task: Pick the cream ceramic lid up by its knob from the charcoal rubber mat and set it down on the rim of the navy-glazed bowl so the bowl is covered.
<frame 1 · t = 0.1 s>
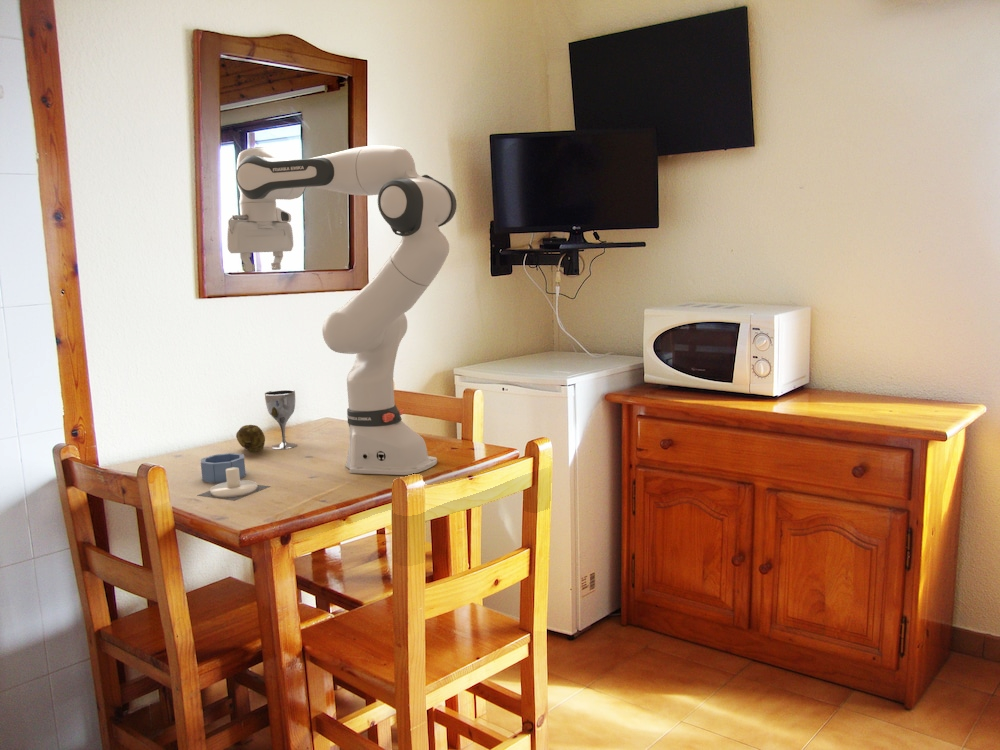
hand: (263, 270, 211), 48 cm above the table, fingers open, 8 cm apart
potato: (252, 452, 223), on the table
lid: (234, 490, 184), resting on mat
mat: (234, 492, 184), on the table
silver goblet: (284, 446, 228), on the table
bowl: (224, 479, 196), on the table
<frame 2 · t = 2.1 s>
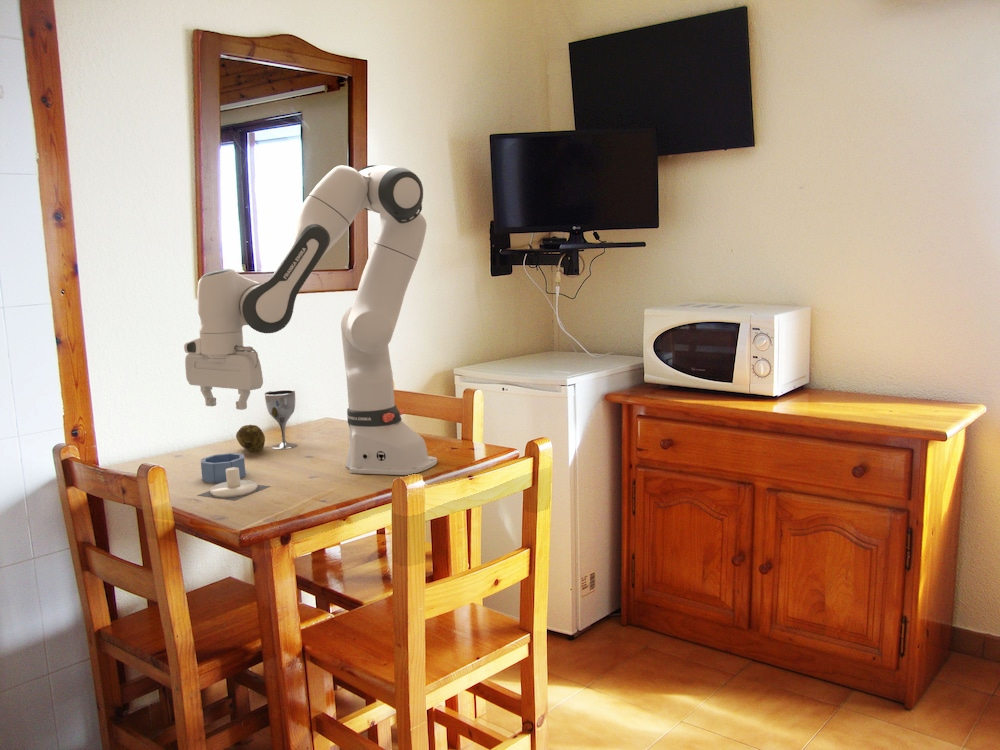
hand: (226, 407, 183), 19 cm above the table, fingers open, 8 cm apart
nothing on the table moved.
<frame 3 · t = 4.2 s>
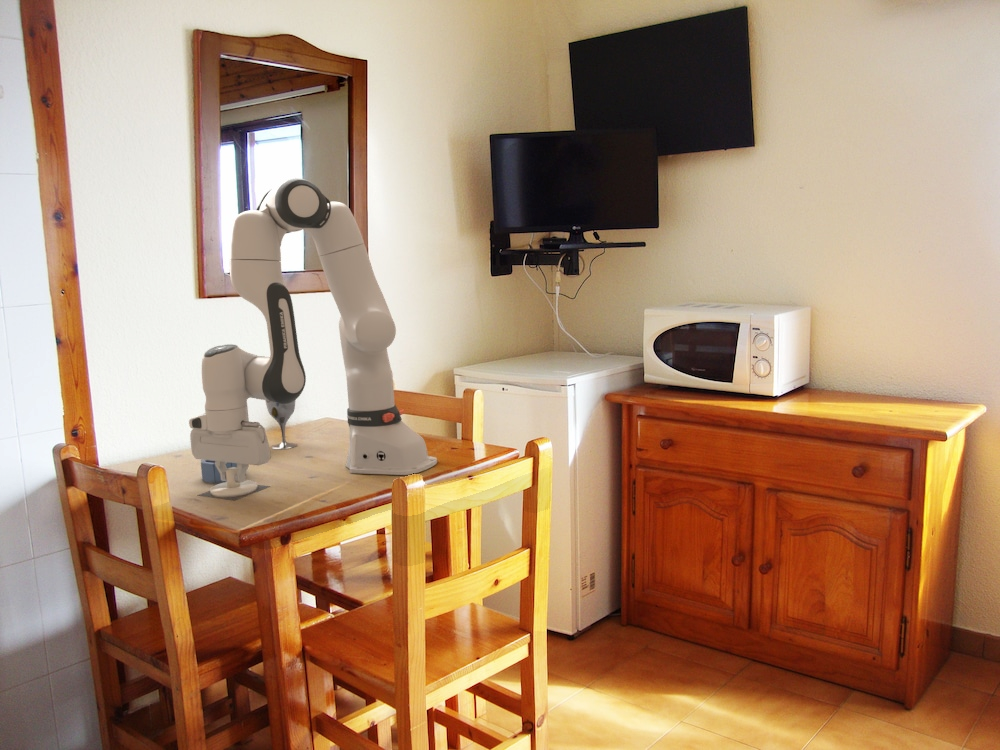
hand: (233, 481, 184), 3 cm above the table, fingers closed on lid, 3 cm apart
lid: (234, 490, 184), resting on mat, touching gripper
everything else where it was.
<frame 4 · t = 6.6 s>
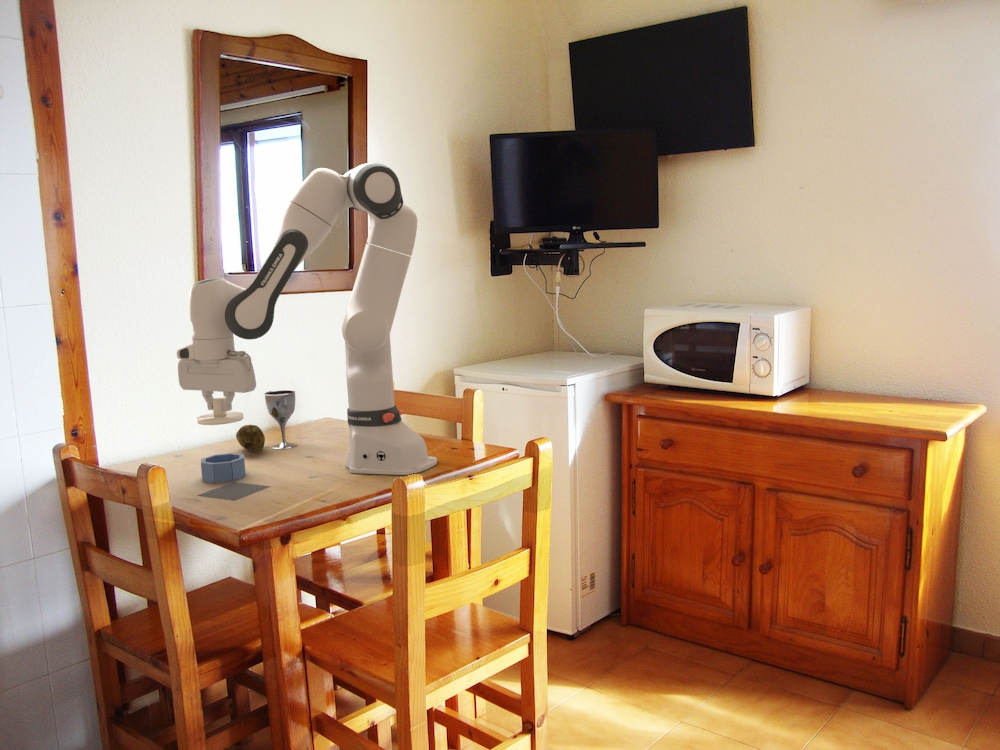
hand: (219, 410, 190), 17 cm above the table, fingers closed on lid, 3 cm apart
lid: (220, 420, 191), point 15 cm above the table, touching gripper
everything else where it was.
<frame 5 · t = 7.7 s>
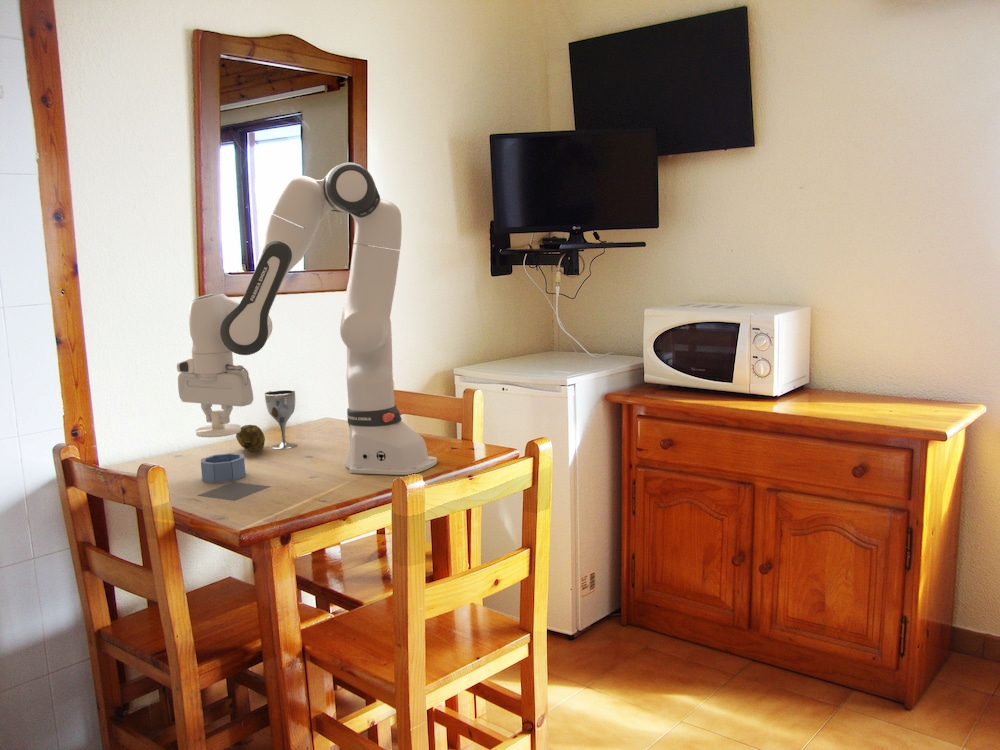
hand: (218, 422, 194), 14 cm above the table, fingers closed on lid, 3 cm apart
lid: (218, 432, 195), point 11 cm above the table, touching gripper
everything else where it was.
when the fingers open (9 cm above the table, at t = 8.7 s): lid drops 1 cm, resting on bowl.
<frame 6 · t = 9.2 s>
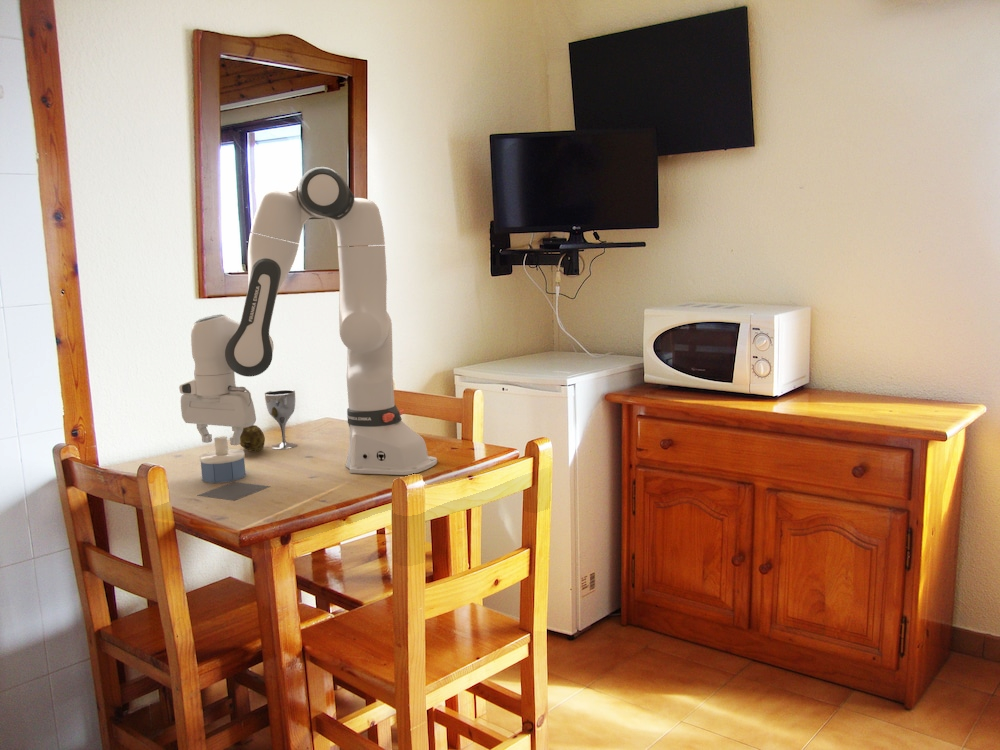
hand: (221, 443, 195), 9 cm above the table, fingers open, 8 cm apart
lid: (222, 458, 196), point 5 cm above the table, touching bowl
everything else where it was.
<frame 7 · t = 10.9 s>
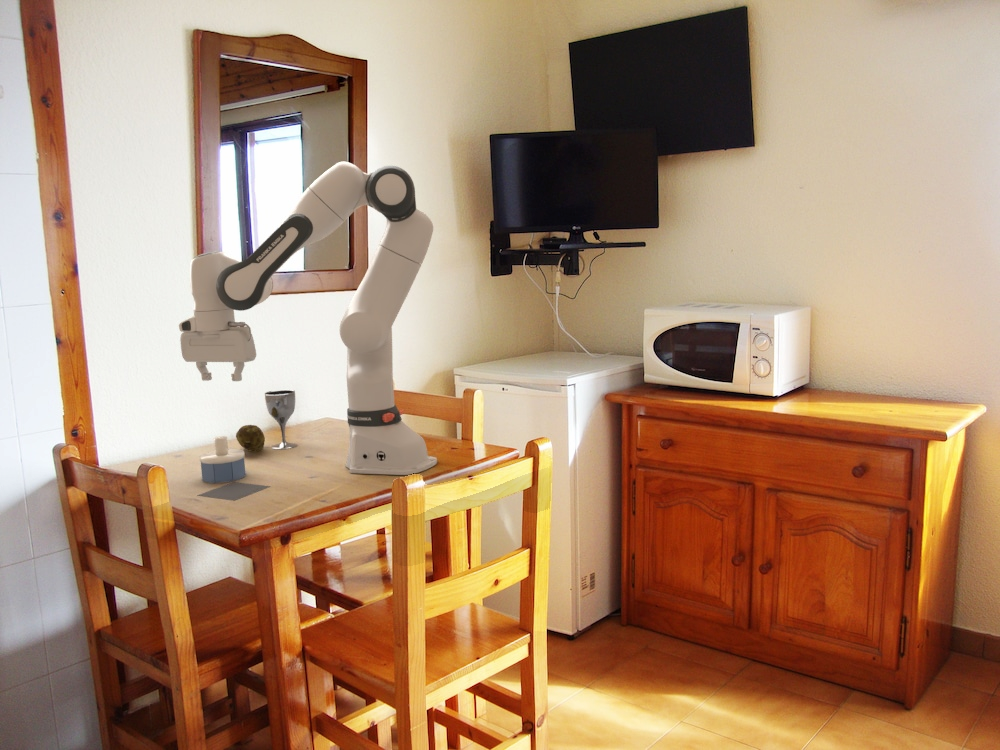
hand: (221, 380, 196), 23 cm above the table, fingers open, 8 cm apart
nothing on the table moved.
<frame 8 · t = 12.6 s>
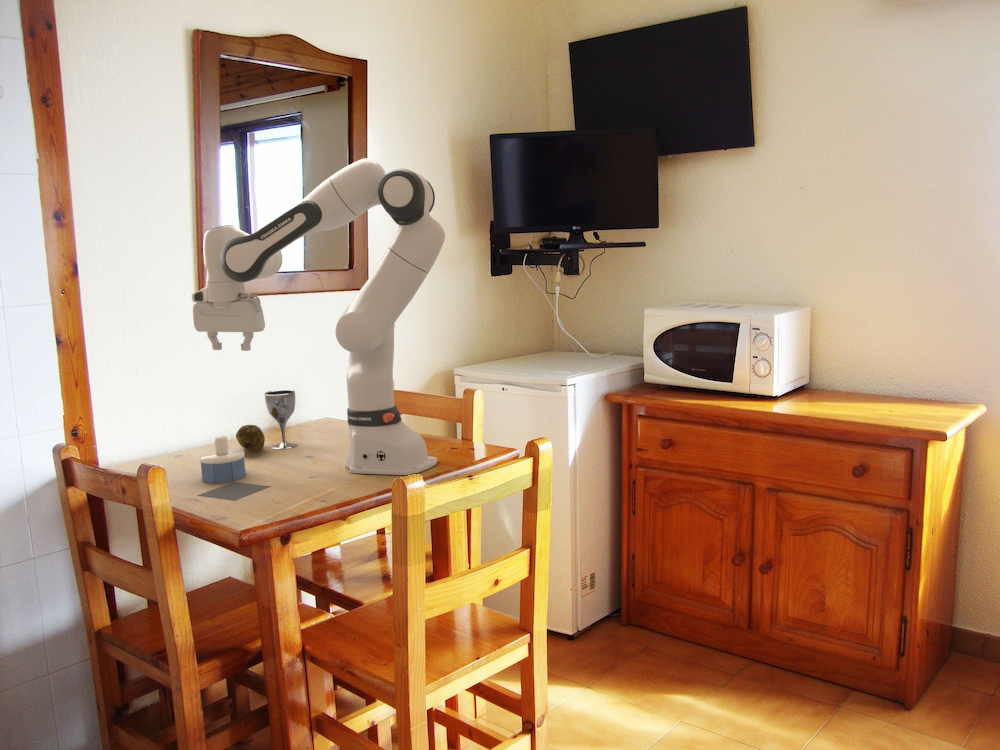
hand: (231, 350, 204), 29 cm above the table, fingers open, 8 cm apart
nothing on the table moved.
at the end: lid 0.1 cm off-centre on the bowl, point 5.0 cm above the bowl's base; lid tilted 0°; the gripper is holding nothing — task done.
